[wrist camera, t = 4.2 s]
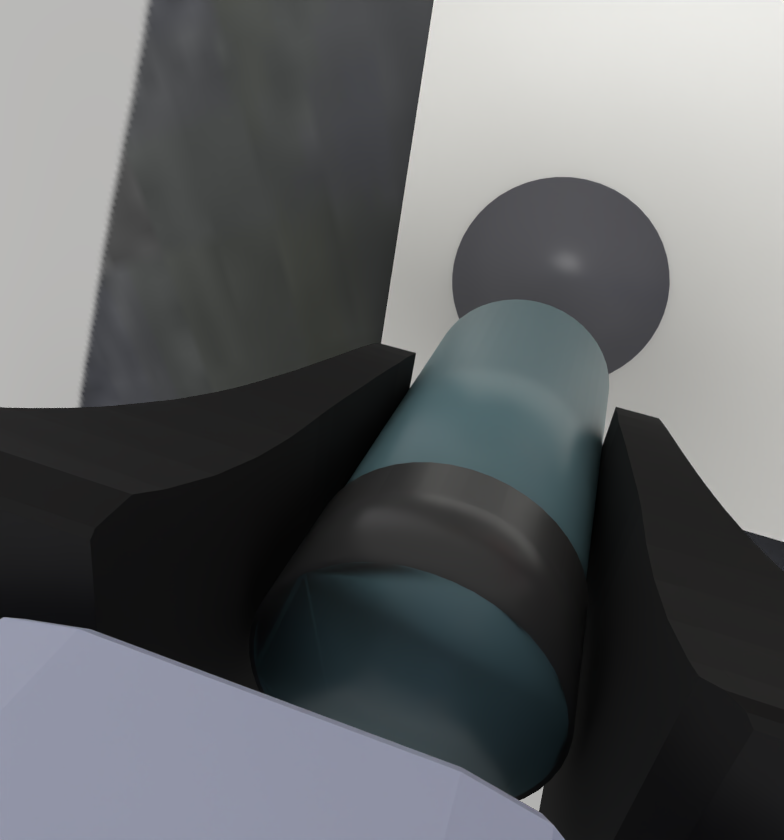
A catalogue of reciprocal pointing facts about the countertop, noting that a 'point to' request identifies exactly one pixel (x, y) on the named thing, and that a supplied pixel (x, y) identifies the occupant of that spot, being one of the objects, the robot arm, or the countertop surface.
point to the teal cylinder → (457, 557)
